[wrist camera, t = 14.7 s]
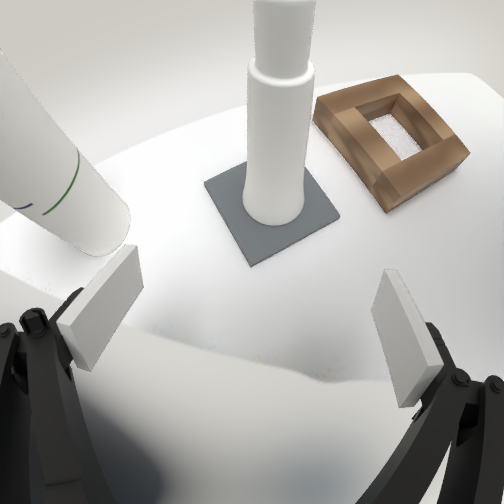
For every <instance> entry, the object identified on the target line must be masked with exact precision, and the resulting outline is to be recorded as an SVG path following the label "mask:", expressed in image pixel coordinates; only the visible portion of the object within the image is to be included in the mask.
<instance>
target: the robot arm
mask: <svg viewBox="0 0 504 504" xmlns="http://www.w3.org/2000/svg"><path fill="white" fill-rule="evenodd" d="M143 288H144V287H143V281H142V275H141V269H140V262H139V256H138V249H137V245H127V244H125V245H124V246H123V247H122V248H121V249H120V250H119V251H118V252H117V253H116V254H115V255H114V256H113V257H112V258H111V260H110V261H109V262H108V263H107V264H106V265H105V266H104V267H103V268H102V269H101V270H100V271H99V272H98V274H97V275H96V276H95V277H94V278H93V279H92V280H91V281H90V282H89V284H88V285H87V286H86V287H85V288H82V287H81V288H79V289H78V290H76V291H74V292H73V293H72V294H71V295H70V296H69V297H68V298H67V301H65V302H64V303H63V305H62V306H60V308H59V309H58V310H57V311H56V312H55V314H54V315H53V316H52V317H51V318H50V319H49V321H48V319H47V316H46V314H45V311H44V310H43V309H41V308H32V309H29V310H27V311H26V312H24V313H23V314H22V316H21V317H20V320H19V322H20V324H21V326H22V328H23V330H24V332H18V331H17V329H16V328H15V326H14V324H12V323H4V324H2V325H0V504H31V498H30V479H29V445H30V426H31V414H32V419H33V425H34V431H35V437H36V442H37V446H38V451H39V456H40V460H41V464H42V468H43V472H44V476H45V479H46V486H45V487H43V489H42V494H43V499H44V502H45V504H118V502H117V501H116V499H115V498H114V496H113V494H112V492H111V490H110V487H109V485H108V483H107V480H106V478H105V476H104V473H103V471H102V469H101V466H100V463H99V461H98V458H97V456H96V453H95V450H94V447H93V444H92V441H91V439H90V436H89V433H88V429H87V426H86V423H85V420H84V416H83V413H82V409H81V406H80V402H79V398H78V394H77V390H76V386H75V382H74V377H73V373H72V369H71V367H70V365H69V364H70V363H71V361H72V360H74V362H75V364H76V366H77V367H78V368H81V369H83V370H86V371H89V372H91V371H92V369H93V367H94V366H95V364H96V362H97V360H98V358H99V357H100V355H101V354H102V352H103V350H104V349H105V347H106V345H107V344H108V342H109V341H110V339H111V337H112V336H113V334H114V333H115V331H116V329H117V328H118V326H119V325H120V323H121V321H122V320H123V318H124V317H125V315H126V314H127V312H128V311H129V309H130V307H131V306H132V304H133V303H134V301H135V300H136V298H137V297H138V295H139V294H140V292H141V291H142V289H143ZM371 312H372V315H373V318H374V322H375V325H376V328H377V331H378V334H379V337H380V341H381V344H382V347H383V351H384V354H385V357H386V361H387V364H388V368H389V371H390V375H391V379H392V383H393V386H394V390H395V394H396V398H397V402H398V406H399V408H405V407H414V406H415V405H416V403H417V402H418V401H419V399H421V402H422V407H421V408H420V409H419V410H418V412H417V413H416V414H415V415H414V416H413V418H412V420H413V422H412V423H411V425H410V427H409V428H408V430H407V432H406V434H405V435H404V437H403V438H402V440H401V442H400V443H399V445H398V446H397V448H396V449H395V451H394V453H393V454H392V456H391V457H390V459H389V460H388V462H387V463H386V464H385V466H384V467H383V469H382V470H381V471H380V473H379V474H378V475H377V477H376V478H375V480H374V481H373V482H372V483H371V485H370V486H369V488H368V489H367V490H366V491H365V493H364V494H363V495H362V496H361V497H360V499H359V500H358V501H357V502H356V503H355V504H419V502H420V501H421V499H422V497H423V496H424V494H425V492H426V491H427V489H428V487H429V485H430V484H431V481H432V480H433V478H434V476H435V474H436V472H437V470H438V468H439V466H440V464H441V462H442V460H443V458H444V456H445V454H446V452H447V450H448V447H449V445H450V442H451V448H450V452H449V457H448V462H447V467H446V471H445V475H444V479H443V483H442V487H441V491H440V494H439V498H438V501H437V504H501V501H502V496H503V490H504V381H503V380H502V379H501V378H499V377H497V376H494V375H491V376H488V378H487V379H486V380H485V381H484V383H482V382H477V381H472V380H471V379H470V376H469V375H468V374H467V373H466V372H465V371H464V370H462V369H459V368H456V366H455V364H454V362H453V360H452V357H451V355H450V353H449V351H448V349H447V347H446V346H445V343H444V341H443V339H442V337H441V335H440V333H439V331H438V329H437V328H436V327H435V326H434V325H433V324H432V323H425V322H424V320H423V318H422V316H421V314H420V312H419V310H418V308H417V306H416V304H415V302H414V300H413V298H412V297H411V295H410V293H409V291H408V289H407V287H406V285H405V284H404V282H403V280H402V278H401V276H400V275H399V273H398V271H397V270H388V269H384V272H383V275H382V279H381V282H380V285H379V288H378V291H377V294H376V297H375V300H374V303H373V306H372V309H371ZM451 440H452V441H451Z"/></svg>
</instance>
